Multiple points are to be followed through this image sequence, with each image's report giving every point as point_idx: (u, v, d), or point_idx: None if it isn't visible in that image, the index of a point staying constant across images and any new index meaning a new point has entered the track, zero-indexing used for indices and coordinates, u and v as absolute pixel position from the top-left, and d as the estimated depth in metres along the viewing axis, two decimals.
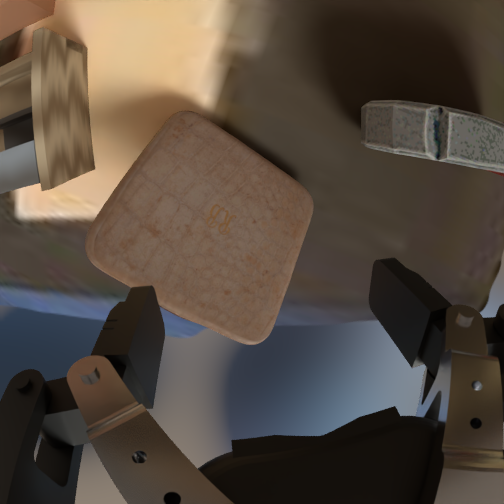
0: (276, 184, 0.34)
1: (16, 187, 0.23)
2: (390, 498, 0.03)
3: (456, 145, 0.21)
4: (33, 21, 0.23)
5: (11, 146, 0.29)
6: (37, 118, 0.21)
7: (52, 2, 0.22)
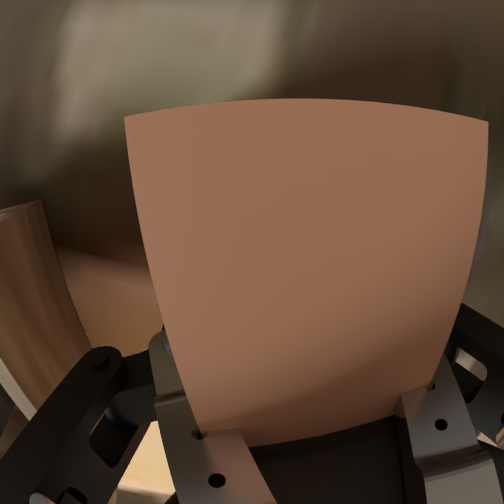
0: None
1: None
2: None
3: None
4: None
5: None
6: None
7: None
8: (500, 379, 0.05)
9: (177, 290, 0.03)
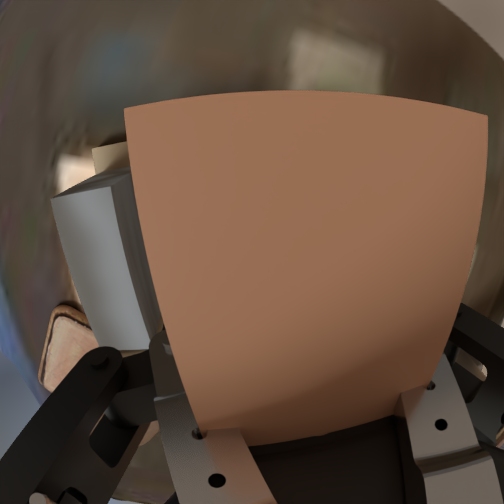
0: (148, 435, 0.37)
1: (88, 316, 0.19)
2: None
3: None
4: None
5: None
6: None
7: None
8: (500, 379, 0.05)
9: (177, 283, 0.03)
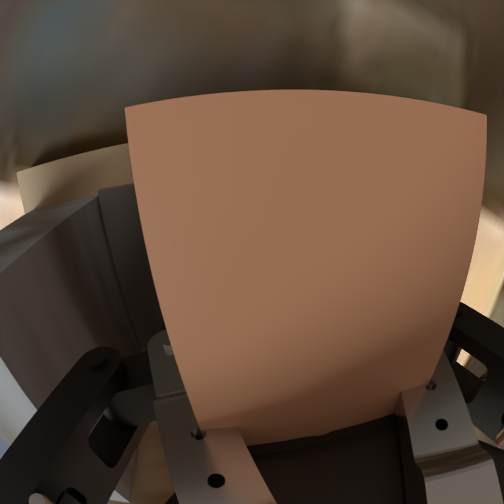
0: None
1: None
2: None
3: None
4: None
5: (115, 216, 0.14)
6: None
7: None
8: (501, 379, 0.05)
9: (177, 282, 0.03)
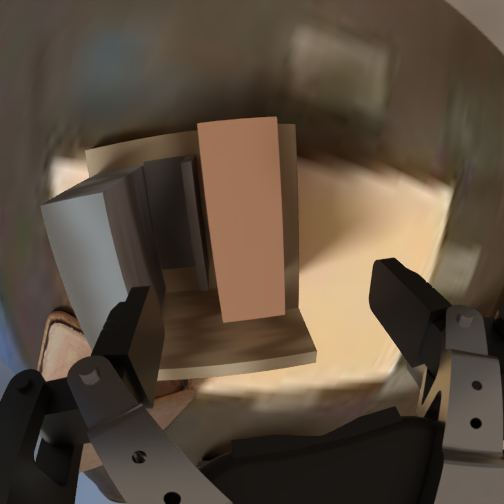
0: None
1: (82, 327, 0.18)
2: (390, 498, 0.03)
3: None
4: None
5: (153, 177, 0.24)
6: (180, 374, 0.20)
7: None
8: None
9: (205, 155, 0.15)
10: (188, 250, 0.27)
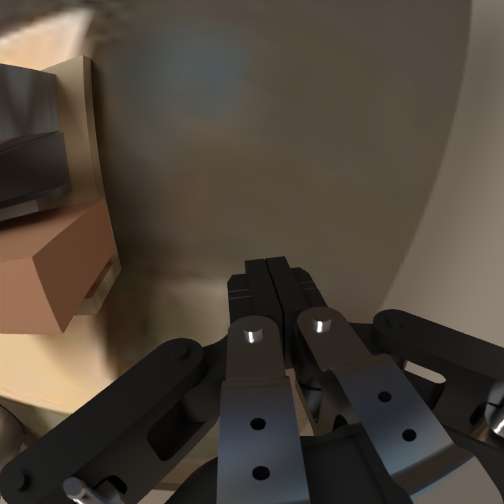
0: None
1: None
2: None
3: None
4: (12, 219, 0.18)
5: (45, 147, 0.17)
6: None
7: None
8: (462, 385, 0.05)
9: (8, 266, 0.10)
10: None
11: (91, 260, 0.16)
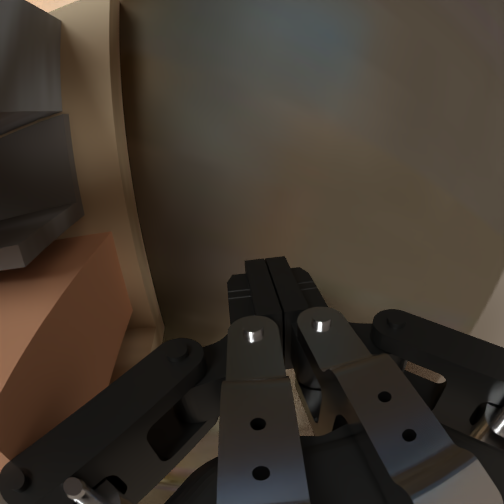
0: None
1: None
2: None
3: None
4: None
5: (37, 140, 0.09)
6: None
7: None
8: (462, 385, 0.05)
9: None
10: None
11: (98, 352, 0.09)
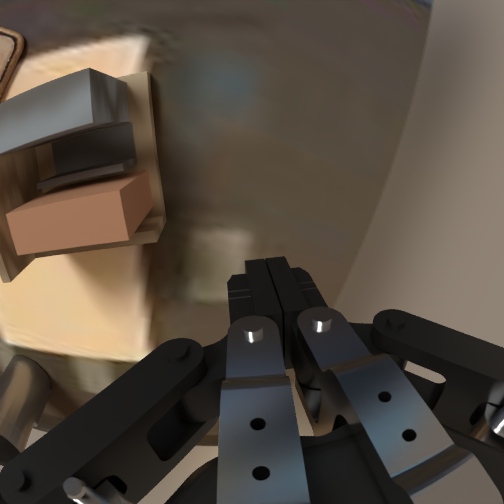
0: None
1: (4, 103, 0.16)
2: None
3: None
4: (74, 184, 0.28)
5: (119, 132, 0.27)
6: None
7: None
8: (462, 385, 0.05)
9: (99, 196, 0.20)
10: (66, 163, 0.27)
11: (142, 205, 0.27)
